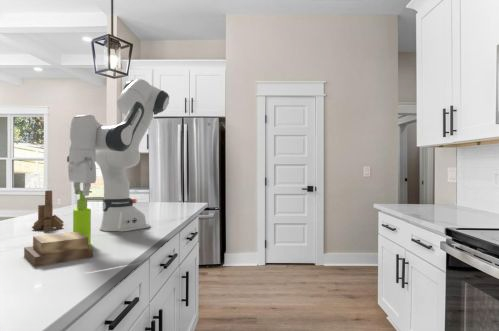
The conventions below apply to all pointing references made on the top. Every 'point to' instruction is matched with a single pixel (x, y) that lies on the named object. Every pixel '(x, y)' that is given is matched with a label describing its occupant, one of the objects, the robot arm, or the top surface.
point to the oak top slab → (60, 242)
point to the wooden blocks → (47, 215)
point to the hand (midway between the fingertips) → (81, 194)
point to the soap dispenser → (82, 217)
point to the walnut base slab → (56, 256)
